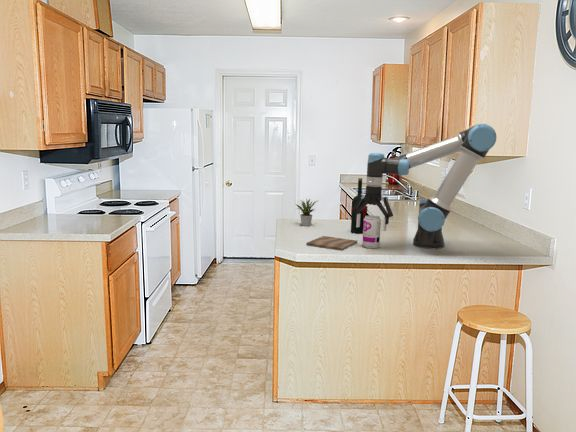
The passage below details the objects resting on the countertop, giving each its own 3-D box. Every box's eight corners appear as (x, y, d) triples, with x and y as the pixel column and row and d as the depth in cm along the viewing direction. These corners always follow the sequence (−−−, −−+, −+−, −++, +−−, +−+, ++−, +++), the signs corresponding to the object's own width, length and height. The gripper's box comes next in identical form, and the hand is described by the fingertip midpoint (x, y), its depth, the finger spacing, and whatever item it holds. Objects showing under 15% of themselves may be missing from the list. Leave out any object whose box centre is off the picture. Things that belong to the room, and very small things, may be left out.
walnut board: (357, 243, 258) (357, 240, 258) (342, 250, 242) (342, 248, 242) (323, 238, 268) (323, 235, 267) (306, 245, 251) (306, 242, 251)
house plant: (314, 222, 309) (315, 195, 306) (323, 227, 296) (324, 199, 293) (292, 223, 305) (293, 196, 302) (300, 228, 292) (301, 199, 289)
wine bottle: (360, 235, 276) (363, 179, 271) (347, 231, 284) (350, 177, 279) (370, 233, 281) (373, 179, 275) (358, 230, 289) (360, 177, 284)
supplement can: (368, 249, 246) (369, 218, 243) (359, 245, 253) (360, 215, 251) (382, 248, 249) (384, 217, 246) (373, 244, 257) (374, 214, 254)
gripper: (346, 183, 249) (344, 226, 253) (396, 188, 237) (393, 233, 241) (352, 182, 255) (350, 224, 259) (401, 187, 243) (398, 231, 247)
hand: (371, 228), depth 250 cm, fingers open, 13 cm apart
